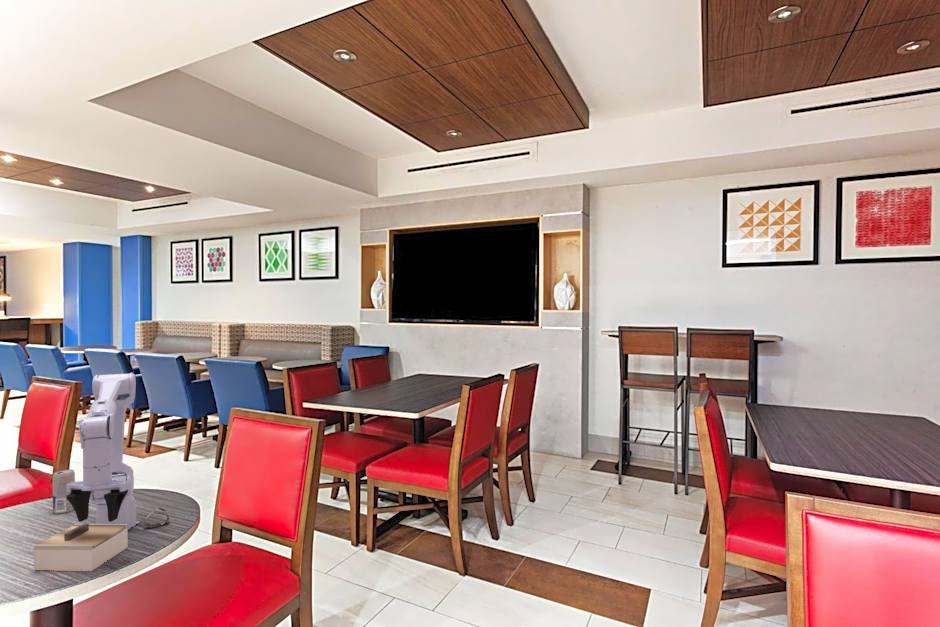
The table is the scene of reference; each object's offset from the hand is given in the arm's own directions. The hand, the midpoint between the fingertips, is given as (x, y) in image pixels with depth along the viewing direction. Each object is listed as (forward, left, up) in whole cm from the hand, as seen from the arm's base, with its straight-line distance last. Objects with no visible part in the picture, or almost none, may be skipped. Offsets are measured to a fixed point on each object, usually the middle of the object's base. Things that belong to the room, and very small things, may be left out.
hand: (98, 520), depth 125 cm
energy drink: (-30, -35, -10) cm, 47 cm away
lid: (-1, -5, -5) cm, 6 cm away
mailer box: (-1, -5, -10) cm, 11 cm away
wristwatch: (-20, +1, -10) cm, 22 cm away
